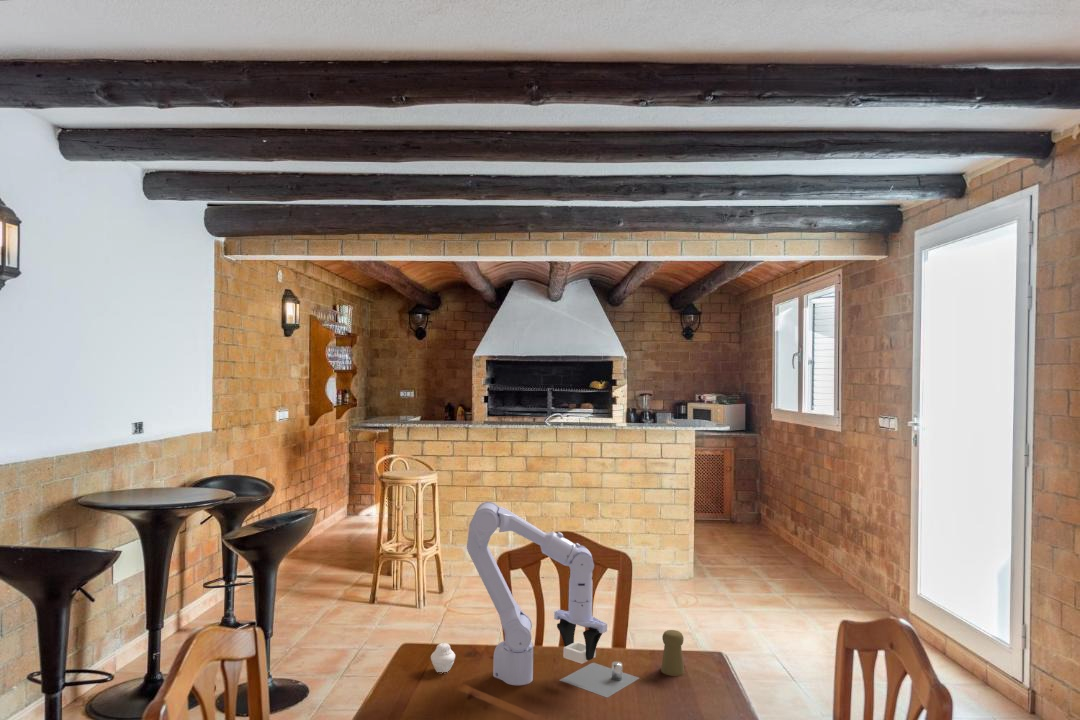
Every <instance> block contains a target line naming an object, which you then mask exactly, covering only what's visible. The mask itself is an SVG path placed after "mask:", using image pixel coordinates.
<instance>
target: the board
mask: <svg viewBox="0 0 1080 720" xmlns="http://www.w3.org/2000/svg"><path fill="white" fill-rule="evenodd" d="M639 679H640V677H638V676H636V675H635V676H634V675H632V674H629V673H627V672H623V671H622V680H621V681H615V680H612V667H608V666H605V665H602V664H600V663H599V664H598V663H596V662H591V663H589V664H587V665H585V666H583V667H582V668H579V669H578V670H576V671H574V672H572V673H570V674H568V675H566V676H565V677H562V678H561V679H559V681H560V682H563V683H566V684H567V685H571V686H574V687H576V688H579V689H581V690H585V691H587V692H590V693H593V694H596V695H599V696H601V697H604V698H610V697H611V696H612V695H615V694H616V693H618V692H620V691H621V690H622V689H624V688H626V687H629V685H631V684H633V683H634V682H636V681H638V680H639Z"/></svg>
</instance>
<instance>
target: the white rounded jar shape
mask: <svg viewBox="0 0 1080 720" xmlns="http://www.w3.org/2000/svg"><path fill="white" fill-rule="evenodd" d="M430 660H431V663H432V665H433V668H434V669H435V672H436V673H438V672H442V673H443V672H447V673H449V672H450V671H449V670H451V668H452V666H453V665H454V663H455V660H456V654H455V652H454V651H453V650H452V649H451V645H450V644H449V643H448V642H447V643H446V642H442V643H438V644H437V646H436V648H435V650H434V651H433V652H432V653H431V655H430ZM448 671H449V672H448ZM442 673H441V674H442Z"/></svg>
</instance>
